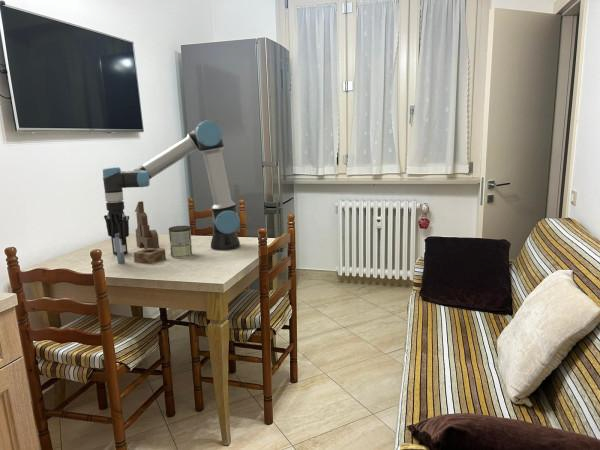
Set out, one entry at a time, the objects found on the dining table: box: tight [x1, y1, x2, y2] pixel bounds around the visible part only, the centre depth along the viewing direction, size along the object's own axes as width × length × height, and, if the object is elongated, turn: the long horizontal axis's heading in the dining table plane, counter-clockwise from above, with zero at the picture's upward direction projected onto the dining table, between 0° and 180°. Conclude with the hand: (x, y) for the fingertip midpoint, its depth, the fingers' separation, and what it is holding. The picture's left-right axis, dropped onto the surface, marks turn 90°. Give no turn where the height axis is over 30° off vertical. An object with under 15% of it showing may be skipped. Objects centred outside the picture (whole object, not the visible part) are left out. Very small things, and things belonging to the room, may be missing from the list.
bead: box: [133, 248, 167, 265], centre depth 205 cm, size 10×10×4 cm
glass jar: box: [168, 225, 193, 259], centre depth 211 cm, size 10×10×14 cm
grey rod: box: [115, 233, 126, 265], centre depth 201 cm, size 3×3×14 cm
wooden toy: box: [134, 200, 160, 249], centre depth 230 cm, size 16×7×25 cm, turn 44°
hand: (120, 251), depth 201 cm, fingers closed on grey rod, 3 cm apart
